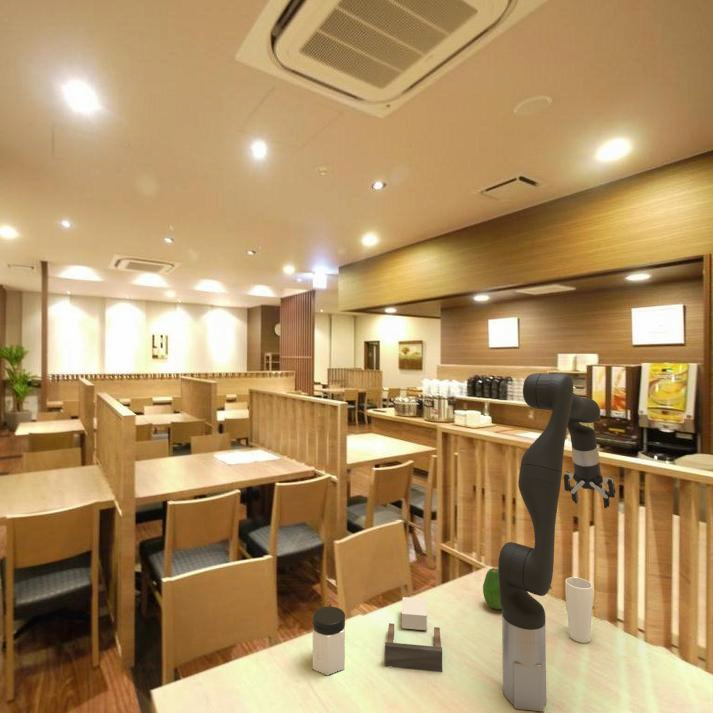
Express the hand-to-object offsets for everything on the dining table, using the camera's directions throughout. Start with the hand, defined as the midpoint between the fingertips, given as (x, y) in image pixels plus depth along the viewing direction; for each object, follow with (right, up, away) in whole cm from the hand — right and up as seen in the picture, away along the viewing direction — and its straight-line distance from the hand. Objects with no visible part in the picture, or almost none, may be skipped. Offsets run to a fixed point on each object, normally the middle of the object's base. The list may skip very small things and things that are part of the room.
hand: (591, 504), depth 140 cm
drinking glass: (-14, -30, -21) cm, 39 cm away
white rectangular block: (-59, -30, -13) cm, 67 cm away
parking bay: (-61, -29, -26) cm, 72 cm away
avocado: (-33, -30, -6) cm, 45 cm away
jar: (-83, -30, -31) cm, 93 cm away
